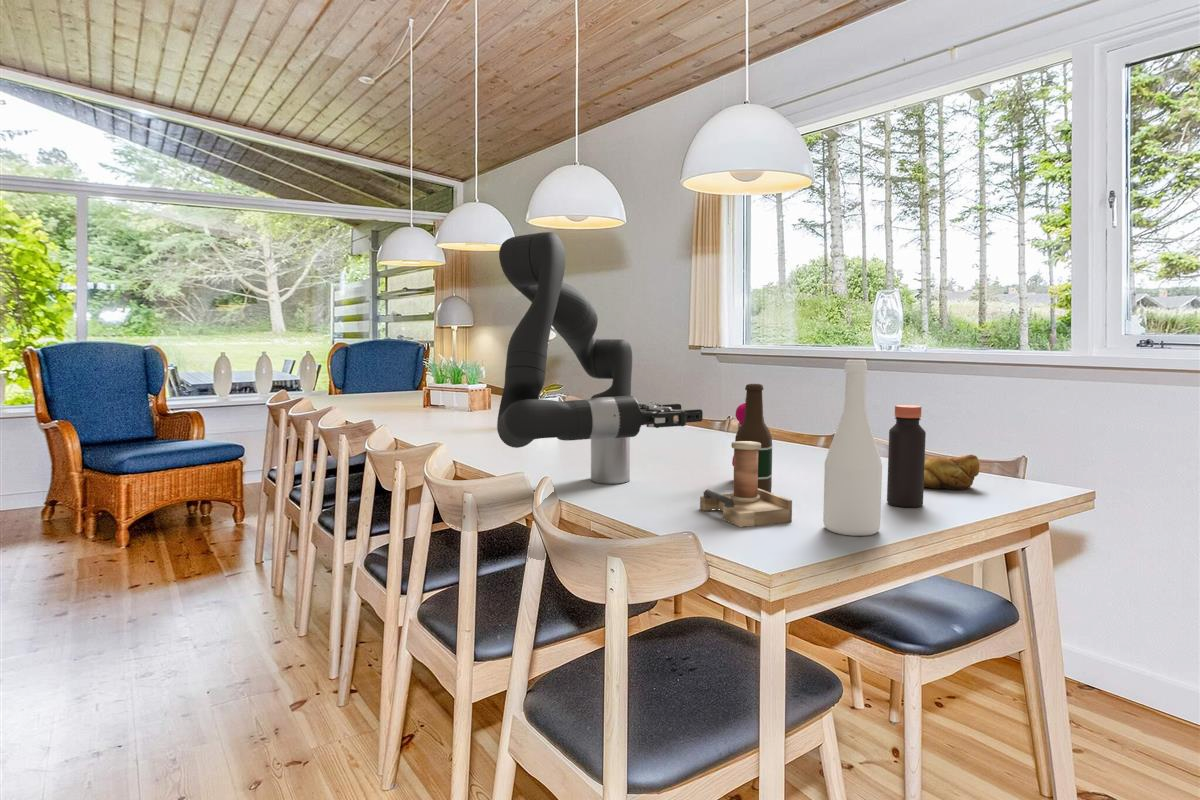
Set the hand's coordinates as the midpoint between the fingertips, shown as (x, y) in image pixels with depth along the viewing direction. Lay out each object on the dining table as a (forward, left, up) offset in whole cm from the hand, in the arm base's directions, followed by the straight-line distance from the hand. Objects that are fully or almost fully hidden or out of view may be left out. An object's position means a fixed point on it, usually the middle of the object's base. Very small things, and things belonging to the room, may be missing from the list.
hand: (690, 412), depth 137 cm
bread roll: (-4, +66, -20) cm, 69 cm away
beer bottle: (-11, +21, -20) cm, 31 cm away
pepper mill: (-26, +29, -20) cm, 43 cm away
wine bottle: (+18, +23, -20) cm, 35 cm away
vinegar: (+6, +46, -20) cm, 50 cm away
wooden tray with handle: (+2, +11, -20) cm, 23 cm away
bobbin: (0, +12, -18) cm, 21 cm away
